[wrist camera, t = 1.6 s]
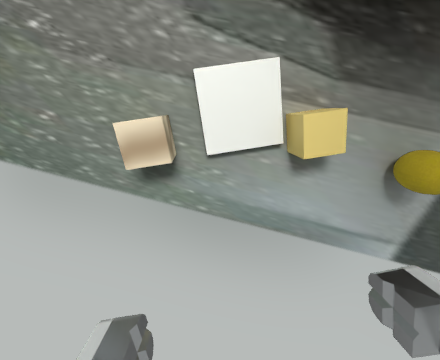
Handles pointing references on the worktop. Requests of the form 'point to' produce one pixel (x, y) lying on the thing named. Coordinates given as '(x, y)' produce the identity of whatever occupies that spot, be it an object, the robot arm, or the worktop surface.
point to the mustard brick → (317, 132)
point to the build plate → (240, 105)
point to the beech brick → (145, 142)
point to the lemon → (419, 171)
